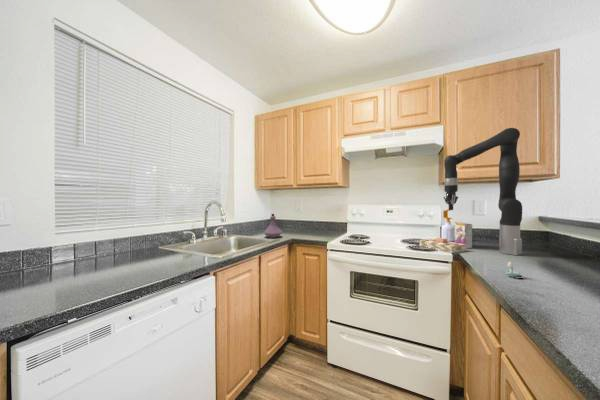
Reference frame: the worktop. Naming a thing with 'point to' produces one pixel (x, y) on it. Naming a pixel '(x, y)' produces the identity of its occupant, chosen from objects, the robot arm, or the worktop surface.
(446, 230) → the soap bottle
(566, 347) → the worktop surface
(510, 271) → the pacifier
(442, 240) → the button middle
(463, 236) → the candy bar box
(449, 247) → the button board
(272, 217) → the flask
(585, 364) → the worktop surface
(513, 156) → the robot arm
